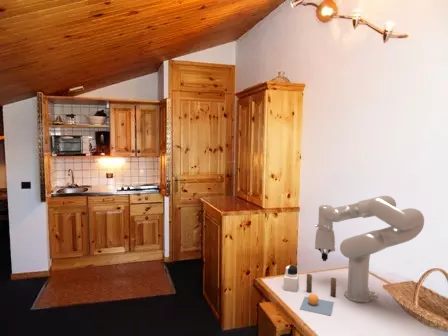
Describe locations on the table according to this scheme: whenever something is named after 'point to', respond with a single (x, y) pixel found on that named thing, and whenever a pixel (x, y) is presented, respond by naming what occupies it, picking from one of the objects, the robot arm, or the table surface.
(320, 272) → the table surface
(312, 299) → the ball
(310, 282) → the post
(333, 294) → the post
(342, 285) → the table surface
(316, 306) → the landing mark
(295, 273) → the medicine bottle
